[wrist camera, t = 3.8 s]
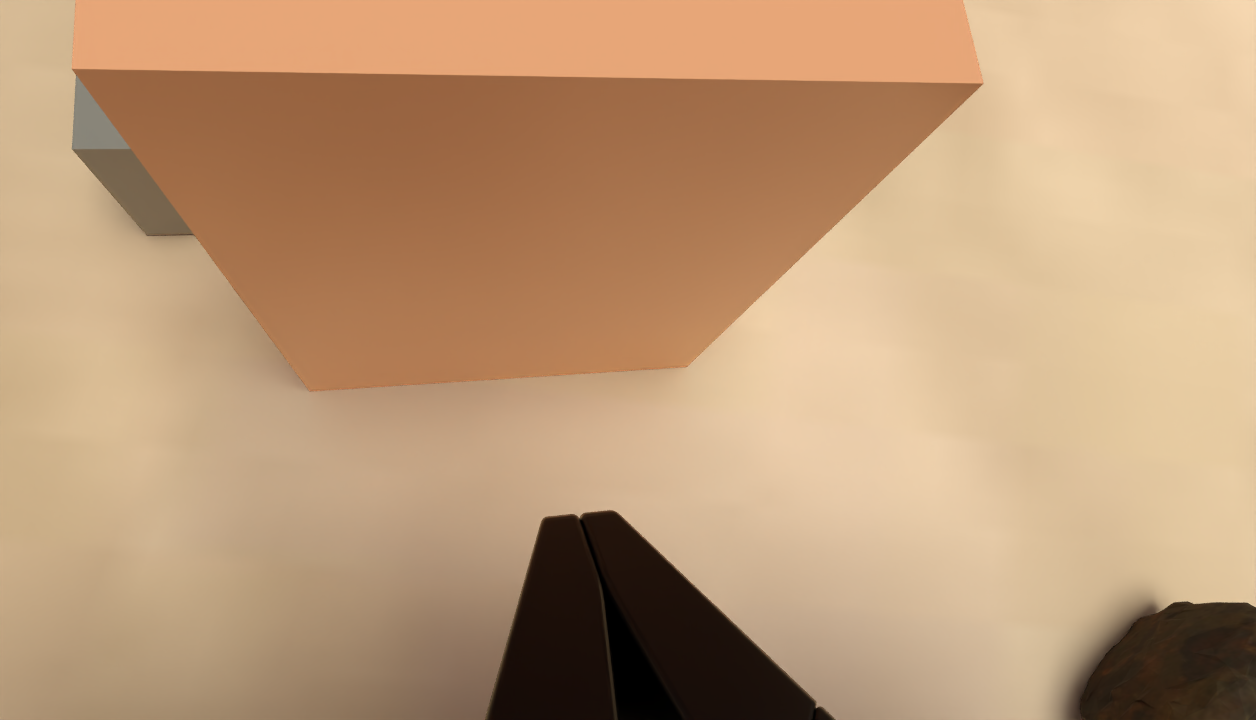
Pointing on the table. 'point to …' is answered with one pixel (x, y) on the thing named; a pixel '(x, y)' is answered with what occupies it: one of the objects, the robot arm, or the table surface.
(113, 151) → the tray
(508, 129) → the tile
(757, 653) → the robot arm
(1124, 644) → the hand tool
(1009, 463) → the table surface
